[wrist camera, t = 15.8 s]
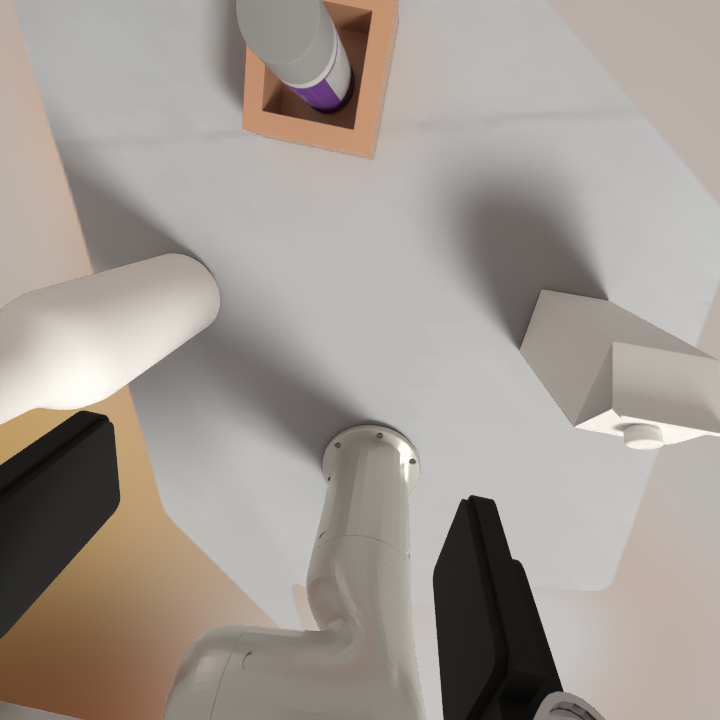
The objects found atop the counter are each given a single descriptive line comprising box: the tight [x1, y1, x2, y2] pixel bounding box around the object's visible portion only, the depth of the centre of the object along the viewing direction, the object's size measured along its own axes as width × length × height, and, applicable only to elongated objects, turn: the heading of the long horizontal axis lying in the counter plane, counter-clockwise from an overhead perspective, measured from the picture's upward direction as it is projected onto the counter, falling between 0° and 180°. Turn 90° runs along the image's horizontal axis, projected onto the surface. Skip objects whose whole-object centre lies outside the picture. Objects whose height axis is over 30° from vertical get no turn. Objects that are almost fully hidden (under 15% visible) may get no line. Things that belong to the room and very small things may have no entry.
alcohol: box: [0, 253, 220, 425], centre depth 30 cm, size 9×9×30 cm
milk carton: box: [520, 289, 720, 449], centre depth 33 cm, size 7×7×19 cm
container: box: [236, 0, 355, 114], centre depth 27 cm, size 5×5×15 cm
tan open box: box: [242, 0, 399, 160], centre depth 32 cm, size 10×10×6 cm
